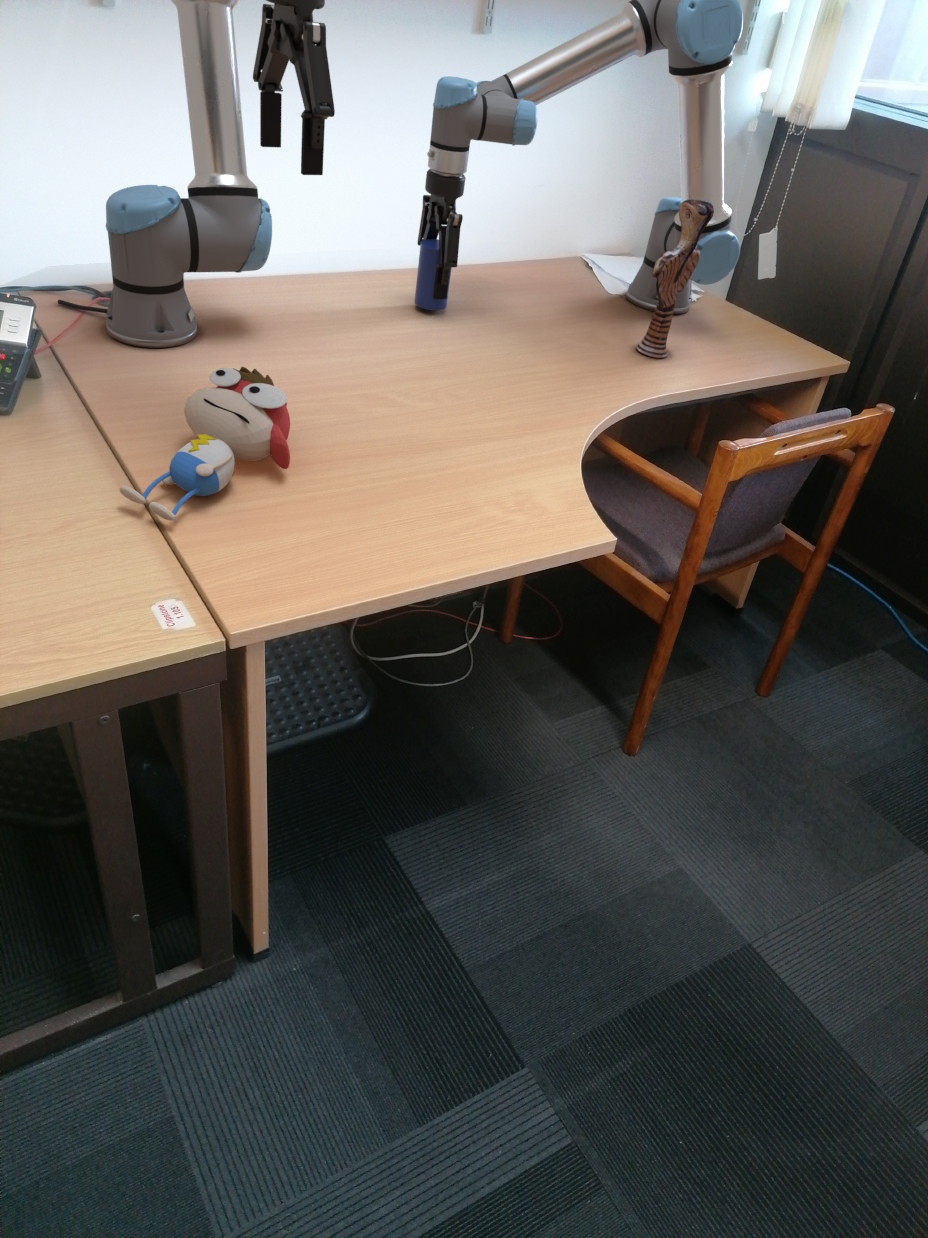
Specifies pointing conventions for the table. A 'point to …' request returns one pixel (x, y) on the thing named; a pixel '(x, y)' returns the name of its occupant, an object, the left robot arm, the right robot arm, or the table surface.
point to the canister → (428, 276)
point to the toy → (225, 435)
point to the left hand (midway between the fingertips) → (290, 160)
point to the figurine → (675, 274)
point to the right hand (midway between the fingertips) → (432, 291)
